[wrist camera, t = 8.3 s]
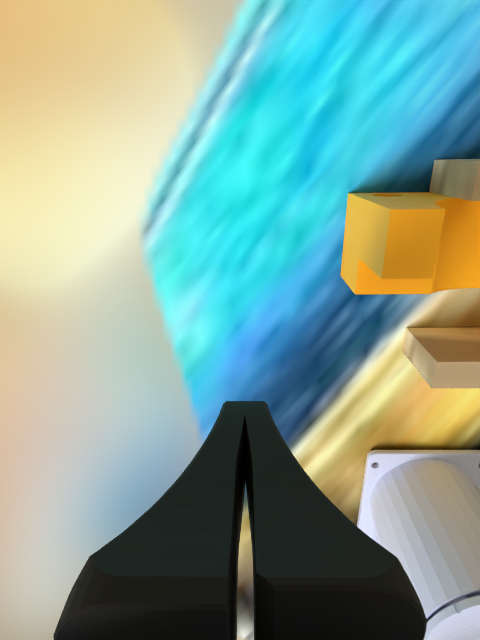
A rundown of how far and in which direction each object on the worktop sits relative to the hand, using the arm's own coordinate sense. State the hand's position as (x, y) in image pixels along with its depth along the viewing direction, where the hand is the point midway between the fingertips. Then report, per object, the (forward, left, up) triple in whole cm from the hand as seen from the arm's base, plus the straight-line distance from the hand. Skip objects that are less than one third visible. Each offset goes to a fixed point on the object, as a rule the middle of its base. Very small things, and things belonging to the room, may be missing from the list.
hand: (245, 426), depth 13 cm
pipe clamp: (+4, -11, -11) cm, 16 cm away
